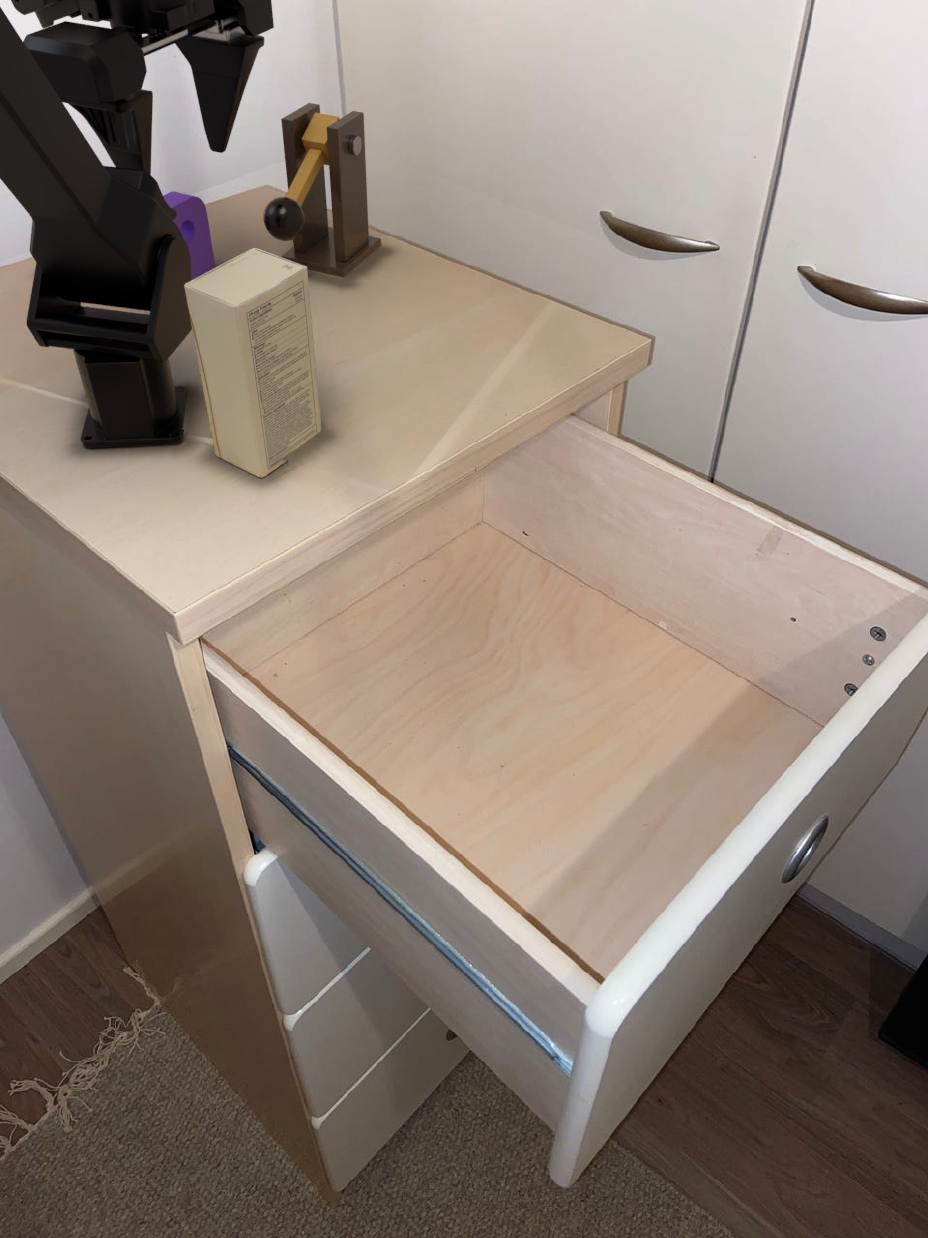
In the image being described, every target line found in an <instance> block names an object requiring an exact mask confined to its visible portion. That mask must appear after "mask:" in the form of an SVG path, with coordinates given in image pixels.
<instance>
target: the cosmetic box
mask: <svg viewBox="0 0 928 1238" xmlns="http://www.w3.org/2000/svg"><path fill="white" fill-rule="evenodd" d="M309 284H310V283H309V273H308V269H307V266H303V265H300V264H298V263H295V262H292V261H290V260H287V259H285V258H282V257H281V256H280V255H276V254H275V253H271V252H268V251H265V250H262V249H260V248H257V247H253V248H250V249H249V250H246V251H244V252H242V253H240V254H239V255H237V256H235V257H233V258H231V259H229V260H227V261H225V262H223V263H222V264H220V265H217V266H215V267H213V268H212V269H210V270H209V271H207V272H206V273H204V274H203V275H201V276H199V277H197V278H195V279H194V280H192V281H190V282H188V283H186V284H185V285H184V288H185V293H186V298H187V304H188V308H189V314H190V320H191V325H192V330H191V331H192V336H193V341H194V345H195V346H194V348H195V351H196V358H197V364H198V369H199V373H200V378H201V385H202V390H203V391H202V392H203V395H204V401H205V406H206V412H207V418H208V422H209V428H210V435H211V439H212V444H213V450H214V455H215V456H216V457H217V458H220V459H222V460H224V461H225V462H228V463H230V464H232V465H233V466H235V467H236V468H240V469H241V470H243V471H245V472H247V473H250V474H251V475H254V476H256V477H258V478H262V479H263V478H264V477H266V476H268V475H269V474H271V473H272V472H274V471H275V470H276V469H279V467H280V466H282V465H283V464H284V463H287V462H288V461H289V459H285V457H287V456H288V455H290V454H291V453H293V452H294V451H296V450H297V449H298V448H299V447H301V446H302V445H304V444H305V443H307V442H308V441H310V439H312V438H314V437H315V436H317V434H319V433H320V432H322V421H321V408H320V399H319V387H318V376H317V364H316V353H315V341H314V340H315V339H314V330H313V319H312V308H311V307H312V306H311V297H310V295H311V294H310V285H309Z"/></svg>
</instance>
